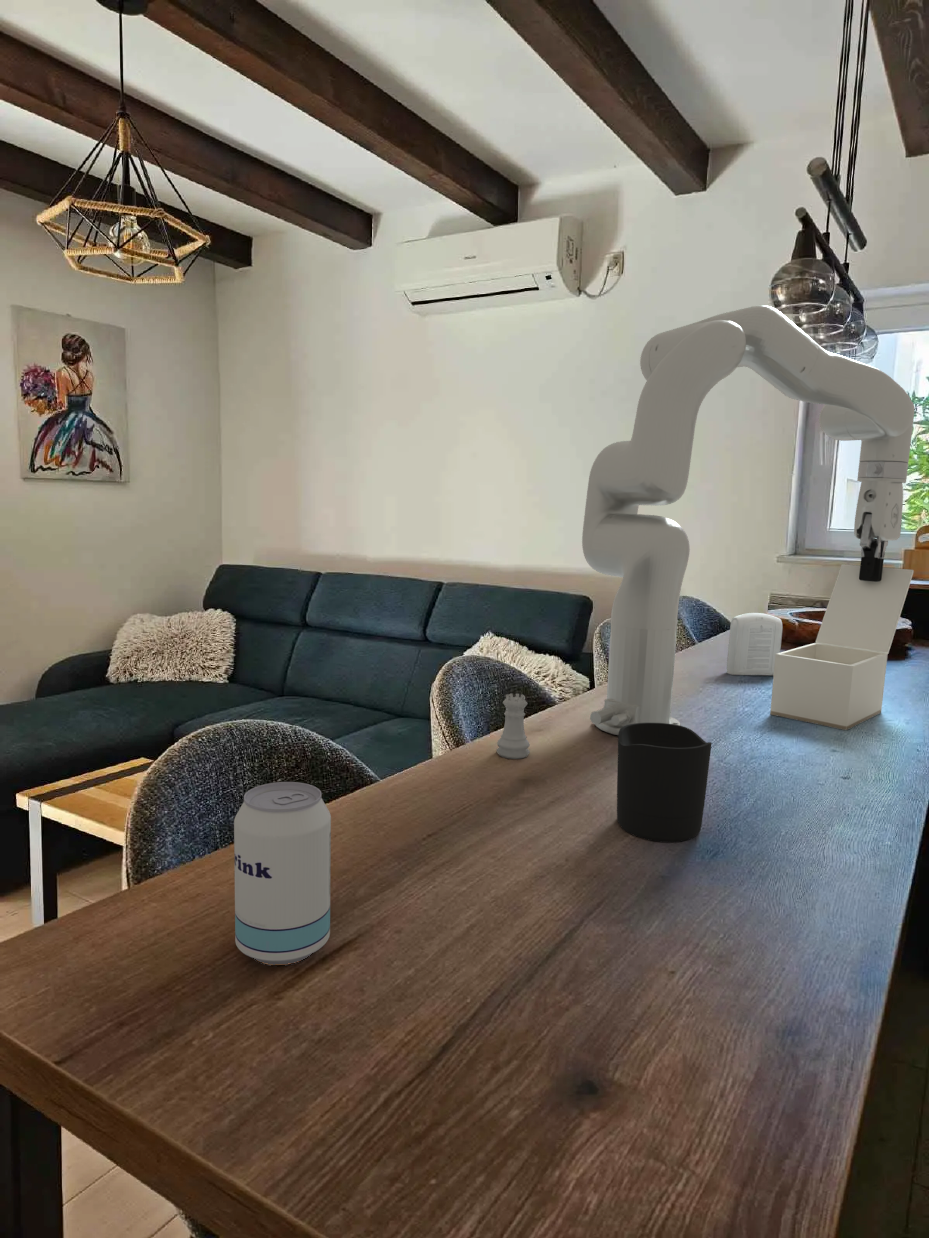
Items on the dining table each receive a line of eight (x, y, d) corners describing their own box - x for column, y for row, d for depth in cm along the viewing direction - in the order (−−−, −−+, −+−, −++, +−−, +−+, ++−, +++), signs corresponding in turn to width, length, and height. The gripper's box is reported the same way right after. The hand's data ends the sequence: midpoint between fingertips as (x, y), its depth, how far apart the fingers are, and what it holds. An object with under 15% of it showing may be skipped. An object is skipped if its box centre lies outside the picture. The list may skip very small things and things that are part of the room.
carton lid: (913, 569, 142) (913, 571, 143) (841, 564, 150) (842, 565, 151) (887, 652, 138) (888, 653, 138) (815, 641, 146) (816, 643, 146)
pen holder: (714, 822, 90) (721, 732, 88) (690, 853, 82) (697, 754, 80) (630, 803, 95) (636, 717, 93) (599, 831, 87) (605, 737, 85)
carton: (846, 730, 128) (853, 666, 126) (770, 714, 136) (775, 653, 134) (881, 712, 139) (887, 653, 138) (808, 698, 147) (814, 643, 146)
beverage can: (218, 945, 63) (216, 792, 61) (296, 915, 68) (296, 772, 66) (267, 985, 58) (266, 821, 56) (348, 950, 63) (350, 797, 61)
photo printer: (770, 672, 170) (776, 611, 168) (781, 676, 165) (787, 614, 164) (722, 672, 168) (727, 611, 166) (732, 676, 164) (737, 614, 162)
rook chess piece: (490, 756, 110) (492, 696, 109) (504, 747, 114) (507, 690, 113) (521, 762, 108) (524, 701, 107) (535, 753, 112) (537, 694, 111)
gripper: (891, 471, 134) (878, 585, 137) (919, 476, 145) (906, 581, 148) (843, 470, 140) (831, 580, 142) (873, 475, 150) (862, 577, 153)
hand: (869, 580), depth 145 cm, fingers closed
